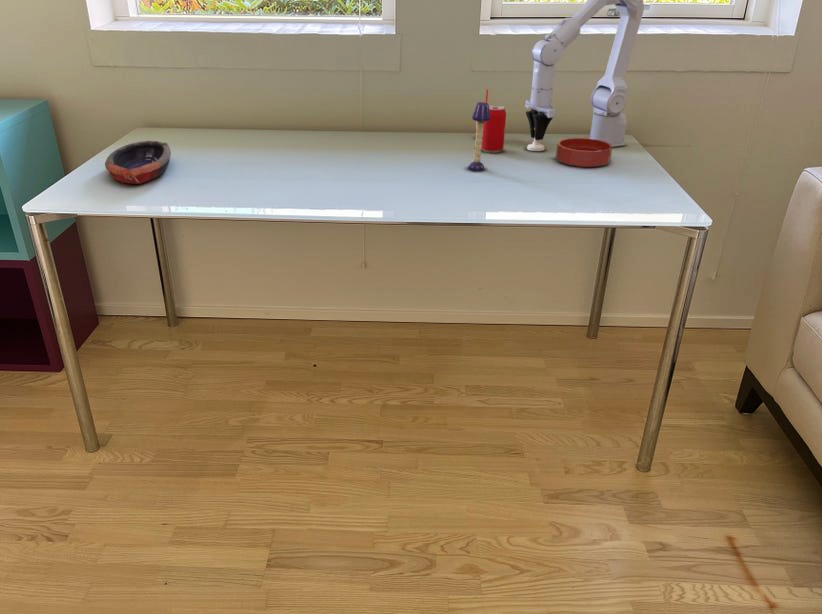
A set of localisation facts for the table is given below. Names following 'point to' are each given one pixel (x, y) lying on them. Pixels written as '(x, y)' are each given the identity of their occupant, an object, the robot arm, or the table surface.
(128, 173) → the dish
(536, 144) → the chess piece
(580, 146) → the bowl
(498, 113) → the beverage can
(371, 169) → the table surface
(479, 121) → the toy lamp
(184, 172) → the table surface
